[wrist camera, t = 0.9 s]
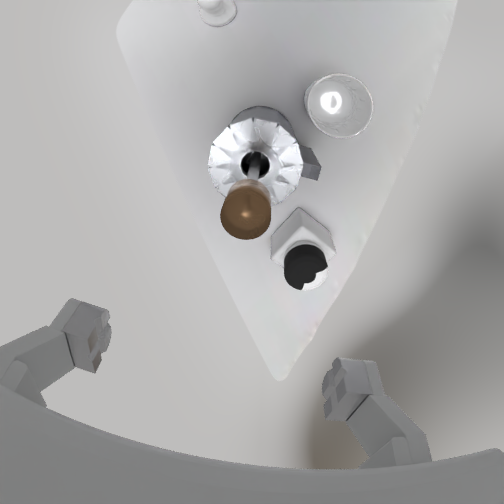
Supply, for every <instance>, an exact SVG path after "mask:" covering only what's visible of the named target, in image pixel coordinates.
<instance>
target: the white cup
mask: <svg viewBox="0 0 504 504" xmlns="http://www.w3.org/2000/svg"><path fill="white" fill-rule="evenodd" d="M304 103H305V108H306V111H307V113H308V115H309V117H310V119H311V120H312V122H313V124H314V125H315V126H316V127H317V128H318V129H319V130H320V131H321V132H323V133H324V134H326V135H328V136H331V137H334V138H350V137H353V136H356V135H358V134H359V133H361V132H362V131H363V130H364V129H365V128H366V127H367V126H368V124H369V123H370V121H371V119H372V115H373V100H372V96H371V94H370V92H369V90H368V89H367V87H366V86H365V85H364V84H363V83H362V82H361V81H360V80H358V79H357V78H355V77H353V76H351V75H347V74H341V73H336V74H330V75H327V76H324V77H321V78H319V79H318V80H316V81H314V82H313V83H312V84H311V85H310V86H309V87H308V89H307V90H306V92H305V97H304Z"/></svg>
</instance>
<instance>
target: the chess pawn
mask: <svg viewBox="0 0 504 504" xmlns="http://www.w3.org/2000/svg"><path fill="white" fill-rule="evenodd" d="M197 3H198V5H199V6H200V10H199V12H200V16H201V18H202V19H203V20H204V21H205V22H206V23H207V24H209V25H211V26H224V25H226V24H228V23H230V22H231V21H232V20H233V19H234V17H235V15H236V6H235V4H234V2H233V1H232V0H197Z"/></svg>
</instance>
